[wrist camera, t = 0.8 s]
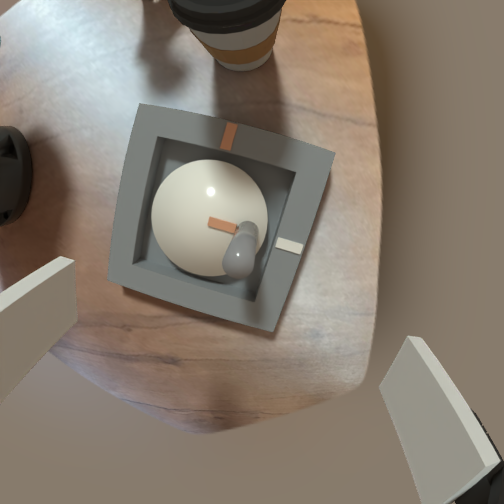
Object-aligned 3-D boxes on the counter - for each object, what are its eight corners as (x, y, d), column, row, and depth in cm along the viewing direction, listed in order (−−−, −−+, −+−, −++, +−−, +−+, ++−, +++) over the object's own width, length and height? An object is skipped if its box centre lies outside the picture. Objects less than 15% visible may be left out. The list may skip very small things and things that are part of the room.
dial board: (119, 270, 35) (106, 280, 31) (151, 107, 28) (138, 103, 25) (272, 318, 35) (273, 333, 32) (328, 153, 29) (336, 152, 26)
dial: (148, 253, 32) (101, 293, 22) (170, 148, 29) (122, 144, 18) (249, 283, 33) (240, 339, 22) (282, 177, 29) (289, 187, 19)
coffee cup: (290, 72, 27) (307, 5, 12) (214, 89, 28) (169, 37, 13) (270, 11, 24) (269, -71, 10) (197, 28, 25) (152, -43, 11)
